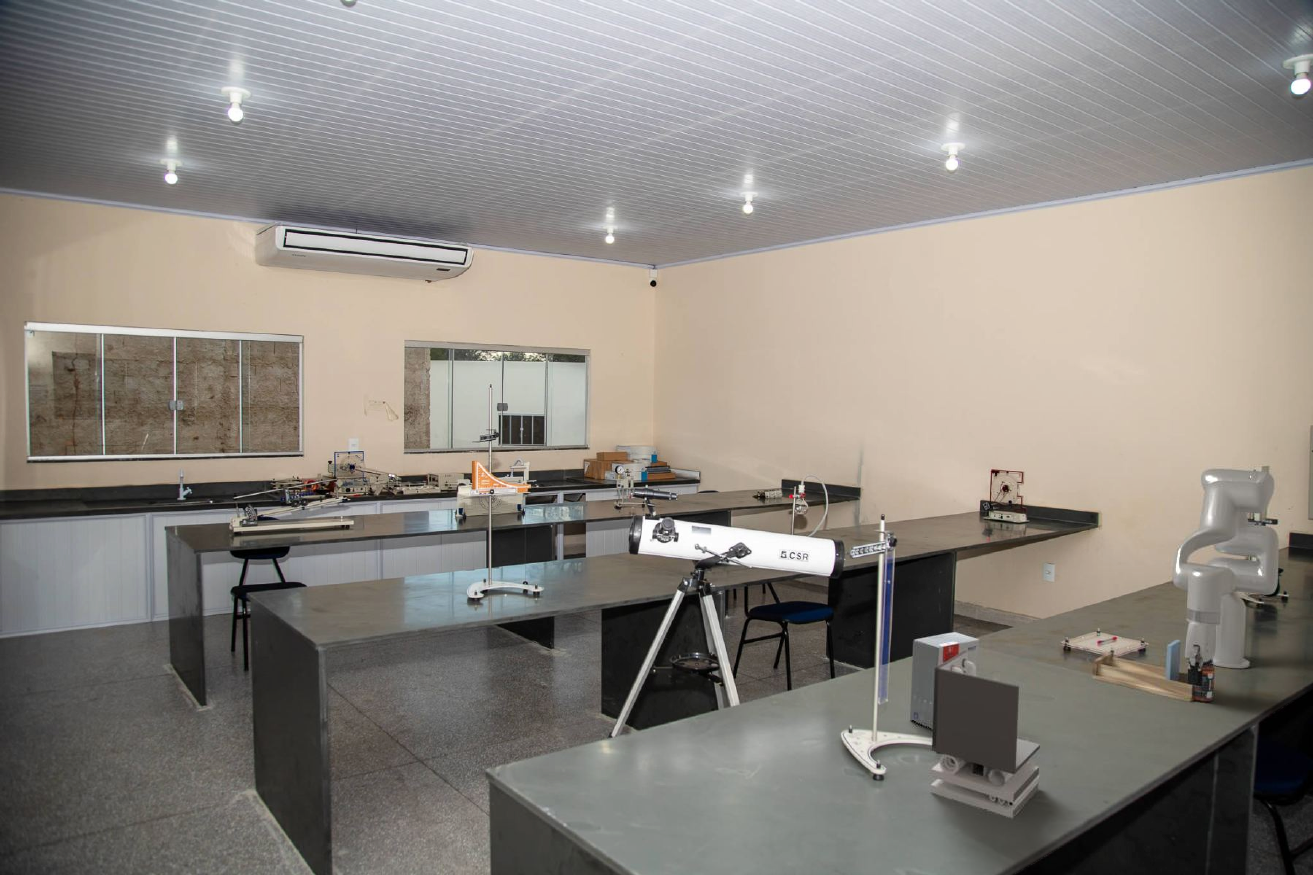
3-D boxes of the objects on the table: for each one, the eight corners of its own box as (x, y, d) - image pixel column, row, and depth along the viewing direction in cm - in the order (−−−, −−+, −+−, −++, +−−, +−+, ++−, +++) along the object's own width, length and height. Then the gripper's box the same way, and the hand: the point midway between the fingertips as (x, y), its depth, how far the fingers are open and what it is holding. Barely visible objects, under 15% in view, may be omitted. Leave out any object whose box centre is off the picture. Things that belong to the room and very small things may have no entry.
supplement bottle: (1217, 703, 218) (1219, 660, 217) (1191, 701, 219) (1193, 658, 218) (1207, 695, 223) (1209, 653, 223) (1182, 693, 225) (1184, 651, 224)
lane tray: (1108, 668, 245) (1109, 651, 245) (1204, 690, 228) (1205, 672, 227) (1092, 678, 236) (1093, 660, 236) (1190, 701, 219) (1191, 683, 218)
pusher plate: (1174, 681, 231) (1176, 639, 230) (1178, 682, 230) (1180, 640, 229) (1165, 688, 225) (1167, 645, 224) (1169, 689, 224) (1171, 646, 224)
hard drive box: (934, 731, 197) (936, 647, 196) (908, 720, 203) (910, 639, 202) (976, 718, 205) (979, 638, 204) (950, 708, 212) (953, 630, 211)
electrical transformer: (930, 792, 166) (934, 668, 165) (966, 761, 181) (970, 646, 180) (1012, 819, 156) (1017, 687, 155) (1043, 783, 171) (1048, 663, 169)
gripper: (1196, 608, 229) (1193, 670, 229) (1177, 618, 217) (1173, 684, 217) (1228, 614, 223) (1225, 677, 224) (1211, 624, 211) (1207, 691, 212)
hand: (1200, 680), depth 221 cm, fingers open, 9 cm apart
